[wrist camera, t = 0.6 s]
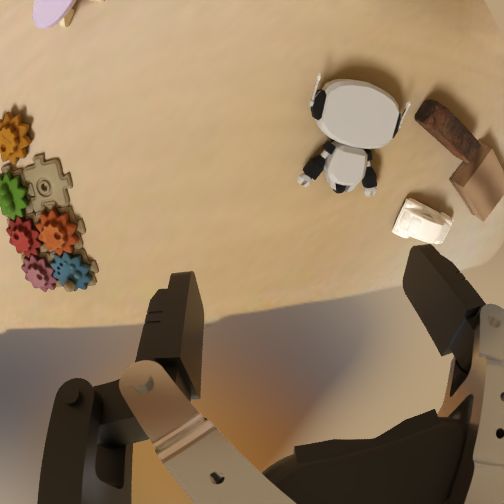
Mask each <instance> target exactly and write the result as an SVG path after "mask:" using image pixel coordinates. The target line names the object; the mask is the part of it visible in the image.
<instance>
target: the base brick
mask: <svg viewBox="0 0 504 504" xmlns="http://www.w3.org/2000/svg"><path fill="white" fill-rule="evenodd" d="M478 142H479V143H480V145H481V147H480V149H479V150H478V153H477V155H476V157H475V159H474V161H473V163H467V162H465V161H463V162H462V163H461V164H460V166H459V167H458V168H457V170H456V171H455V172H454V174H453V175H452V176H451V177H450V179H449V180H450V181H451V183H452V184H453V186H454V187H455V189H456V190H457V192H458V193H459V195H460V196H461V198H462V199H463V201H464V202H465V204H466V206H467V207H468V209H469V210H470V212H471V214H472V215H476V216H477V217H478V218H479V219H481V220H482V221H483V222H484V220H485V219H486V218H487V217H488V215H489V214H490V213H491V211H492V210H493V209H494V207H495V206H496V205H497V203H498V202H499V201H500V199H501V198H502V196H503V195H504V172H503V169H502V167H501V165H500V163H499V161H498V159H497V157H496V155H495V153H494V151H493V149H492V148H491V147H489V146H487V145H485V144H483V143H482V142H481V141H480V140H478Z"/></svg>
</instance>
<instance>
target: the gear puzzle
mask: <svg viewBox="0 0 504 504" xmlns="http://www.w3.org/2000/svg"><path fill="white" fill-rule="evenodd" d="M29 127H30V126H29V124H23V123H22V115H21V114H18V115H16V116H15V117H13V115H12V114H11V113H10V112H8V113H6V115H5V117H4V120H2V119H0V153H1V158H2V161H3V162H5V161H7V160H8V159H9V160H10V162H11V163H12V164H13V165H15V164H17V162H18V158H25V157H26V156H27V153H26V149H25V147H26V146H28V145H30V144H31V142H32V141H31V139H30V138H29V137H28V136H27V132H28V130H29ZM32 159H33V161H34V163H35V164H34V165H31V166H28V167H26V168H25V169H24V170H23V169H18V170H15V171H12V170H11V164H9V165H6V166H4V167H2V168H1V170H2V172H3V175H0V207H1V211H2V214H3V215H5V216H6V217H8V218H7V223H8V226H9V227H8V228H7V229H6V231H7V233H8V234H9V235H10V237H11V238H10V241H9V242H10V244H12V245H14V246H15V247H16V250H17V252H18V253H20V254H22V256H21V258H22V261H23V263H24V264H23V265H22V267H21V268H22V270H23V271H24V272H25V273H26V276H25V279H26V280H28V281H30V282H31V283H32V285H33V287H34V288H40V289H42V290H43V291H44V292H46V291H47V290H48V288H49V289H51V290H54V289H55V287H61V286H63V287H64V289H65V290H66V291H67V292H72V291H76V290H77V289H78V287H79V288H81V289H84V290H86V289H87V286H93V285H95V284H96V279H95V276H94V274H93V272H95V273H98V272H99V270H98V267H97V264H96V262H95V260H93V261H89V260H88V258H87V255H86V252H85V250H84V249H82V246H83V242H82V239H81V236H80V233H82V234H84V233H86V230H85V227H84V224H83V221H82V219H80V220H78V221H76V220H75V217H74V214H73V211H72V208H71V207H70V206H68V205H69V202H70V200H69V196H68V192H67V188H69V189H71V188H72V187H73V186H72V181H71V177H70V174H69V173H68V174H66V175H65V176H64V175H63V172H62V168H61V164H60V161H59V160H58V159H52V160H49V161H45V155H44V154H41V155H38V156H35V157H33V158H32ZM44 183H45V184H46V185H47V189H45V188H44V187H43V184H44ZM34 210H35V211H37V213H35V212H34ZM48 250H49V251H52V252H51V253H49V252H47V251H48Z"/></svg>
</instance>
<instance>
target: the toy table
mask: <svg viewBox="0 0 504 504" xmlns="http://www.w3.org/2000/svg"><path fill="white" fill-rule="evenodd" d="M90 1H101V2H104V1H105V0H90ZM75 2H76V0H35V3H34V7H33V21H34V23H35V25H36V26H37V27H39V28H44V29H47V28H51V27H53V26H54V25H56V24H57V23H58V22H59V23H60V26H61V27H68V26H69V24H70V22H71V19H72V17H73V14H74V12H75V10H73V9H72V7H73V5H74V4H75Z"/></svg>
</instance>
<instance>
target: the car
mask: <svg viewBox="0 0 504 504" xmlns="http://www.w3.org/2000/svg"><path fill="white" fill-rule="evenodd" d="M452 223H453V219H452V218H450V217H449V216H448V215H447V214H445V213H443V212H441V213H439V212H437V211H435V210H433V209H432V208H430V207H428V206H426V205H424V204H422V203H419V202H418V201H417V200H415V199H412V198H409V199H407V198H406V201H405V203H404V205H403V207H402V209H401V211H400V214H399V216H398V218H397V220H396V223H395V225H394V228H393V229H392V232H393V233H395V234H397V235H398V236H401V237H403V238H409V237H413V238H416V239H419V240H421V241H424V242H429V243H432V244H433V243H436V244H440V243H442V242H443V240H444V238H445V237H446V235H447V233H448V231H449V229H450V227H451V225H452Z"/></svg>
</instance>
